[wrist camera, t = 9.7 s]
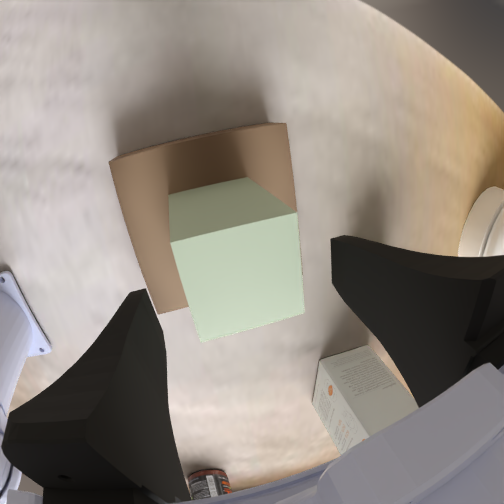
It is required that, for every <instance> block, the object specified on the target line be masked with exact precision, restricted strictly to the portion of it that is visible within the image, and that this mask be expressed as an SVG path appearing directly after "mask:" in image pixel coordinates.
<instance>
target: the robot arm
mask: <svg viewBox="0 0 504 504" xmlns="http://www.w3.org/2000/svg"><path fill="white" fill-rule="evenodd" d="M331 264H332V284H333V285H334V287H335V288H336V290H337V292H338V293H339V295H340V296H341V297H342V299H343V300H344V302H345V303H346V304H347V305H348V306H349V307H350V308H351V310H352V311H353V312H354V313H355V314H356V315H357V316H358V317H359V318H360V320H361V321H362V322H363V323H364V324H365V325H366V326H367V327H368V328H369V329H370V331H371V332H372V333H373V334H374V335H375V336H376V337H377V339H378V340H379V341H380V342H381V344H382V345H383V347H384V348H385V350H386V351H387V352H388V354H389V355H390V357H391V358H392V360H393V361H394V363H395V365H396V366H397V368H398V370H399V371H400V373H401V375H402V376H403V378H404V380H405V382H406V383H407V385H408V387H409V389H410V391H411V393H412V395H413V396H414V399H415V401H416V403H417V405H418V407H419V409H417V410H415V411H414V412H412V413H411V414H409V415H407V416H405V417H404V418H402V419H400V420H399V421H397V422H395V423H393V424H391V425H390V426H388V427H386V428H384V429H382V430H380V431H378V432H377V433H375V434H373V435H372V436H370V437H369V438H367V439H365V440H364V441H362V442H360V443H358V444H357V445H355V446H353V447H351V448H350V449H349V450H347V451H346V452H345V453H344V454H342V455H341V456H340V457H338V458H336V459H334V460H331V461H329V462H327V463H324V464H322V465H319V466H317V467H314V468H312V469H309V470H306V471H304V472H301V473H298V474H295V475H292V476H289V477H286V478H283V479H280V480H277V481H274V482H271V483H267V484H264V485H260V486H257V487H253V488H249V489H245V490H241V491H237V492H233V493H229V494H224V495H220V496H215V497H210V498H204V499H198V500H192V499H191V497H190V494H189V491H188V488H187V485H186V481H185V478H184V475H183V471H182V468H181V464H180V460H179V457H178V453H177V448H176V444H175V440H174V435H173V430H172V425H171V420H170V414H169V406H168V389H167V358H166V348H165V341H164V335H163V330H162V328H161V326H160V323H159V321H158V318H157V316H156V313H155V311H154V308H153V306H152V303H151V301H150V298H149V296H148V293H147V290H146V288H145V289H141V290H137V291H133V292H130V293H129V294H128V296H127V297H126V298H125V300H124V301H123V303H122V304H121V306H120V307H119V309H118V310H117V312H116V313H115V314H114V316H113V317H112V319H111V320H110V322H109V323H108V324H107V326H106V327H105V328H104V330H103V331H102V332H101V334H100V335H99V336H98V338H97V339H96V340H95V342H94V343H93V344H92V345H91V346H90V348H89V349H88V350H87V351H86V352H85V353H84V354H83V355H82V357H81V358H80V359H79V360H78V361H77V362H76V363H75V364H74V365H73V366H72V367H71V368H69V369H68V370H67V371H66V372H65V373H64V374H63V375H62V376H61V377H60V378H59V379H58V380H56V381H55V382H54V383H53V384H51V385H50V386H49V387H48V388H46V389H45V390H44V391H42V392H41V393H40V394H38V395H37V396H35V397H34V398H33V399H31V400H29V401H28V402H26V403H25V404H23V405H21V406H20V407H18V408H17V409H15V410H13V411H11V412H10V413H9V417H8V419H7V418H6V416H7V412H8V409H9V406H10V402H11V399H12V396H13V393H14V390H15V387H16V384H17V382H18V379H19V376H20V373H21V371H22V368H23V365H24V363H25V360H26V358H27V357H31V356H36V355H42V354H47V353H50V352H51V350H52V347H51V345H50V343H49V342H48V340H47V338H46V337H45V335H44V333H43V332H42V330H41V328H40V327H39V325H38V323H37V321H36V320H35V318H34V316H33V314H32V313H31V311H30V309H29V307H28V305H27V303H26V301H25V299H24V297H23V296H22V294H21V292H20V290H19V287H18V285H17V283H16V281H15V279H14V277H13V275H12V273H11V272H9V271H4V272H1V273H0V504H504V255H497V256H488V257H455V256H442V255H434V254H427V253H420V252H415V251H410V250H406V249H401V248H397V247H393V246H389V245H385V244H381V243H377V242H374V241H370V240H366V239H362V238H358V237H353V236H346V235H343V236H339V237H336V238H332V239H331ZM2 277H3V278H4V279H5V281H4V280H3V279H2ZM41 348H43V349H41ZM21 473H23V474H25V475H26V476H28V477H29V478H30V479H32V480H33V481H34V482H36V483H37V484H39V485H40V486H42V487H43V488H44V490H43V496H41V495H38V494H36V493H31V492H25V491H19V490H17V489H18V486H19V483H20V479H21Z"/></svg>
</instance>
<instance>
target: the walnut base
mask: <svg viewBox="0 0 504 504" xmlns="http://www.w3.org/2000/svg"><path fill="white" fill-rule="evenodd" d="M109 165H110V169H111V173H112V177H113V181H114V185H115V188H116V192H117V196H118V199H119V203H120V206H121V210H122V213H123V216H124V220H125V223H126V226H127V229H128V233H129V236H130V239H131V242H132V245H133V248H134V251H135V254H136V257H137V260H138V263H139V266H140V268H141V271H142V274H143V277H144V279H145V282H146V285H147V288H148V290H149V293H150V296H151V298H152V301H153V303H154V306H155V308H156V311H157V313H158V314H162V313H166V312H170V311H174V310H178V309H182V308H185V307H189V305H188V302H187V299H186V295H185V292H184V289H183V285H182V282H181V279H180V275H179V272H178V269H177V265H176V262H175V258H174V255H173V251H172V247H171V244H170V227H169V196H168V195H170V194H174V193H178V192H182V191H186V190H190V189H195V188H199V187H203V186H208V185H212V184H217V183H221V182H226V181H231V180H236V179H240V178H245V177H248V178H250V179H251V180H252V181H254V182H255V183H257V184H258V185H260V186H261V187H262V188H264V189H265V190H267V191H268V192H269V193H271V194H272V195H274V196H275V197H276V198H278V199H279V200H281V201H282V202H283V203H285V204H286V205H288V206H289V207H290V208H292V209H293V210H294V211H296V212H297V207H296V197H295V188H294V180H293V171H292V163H291V155H290V147H289V140H288V132H287V125H286V123H263V124H256V125H250V126H244V127H238V128H233V129H227V130H222V131H217V132H212V133H207V134H202V135H197V136H193V137H188V138H184V139H180V140H175V141H171V142H167V143H163V144H159V145H155V146H152V147H148V148H144V149H141V150H137V151H134V152H130V153H127V154H123V155H120V156H117V157H116V158H114V159H113V160H111V161H110V162H109ZM297 217H298V216H297ZM298 228H299V226H298ZM299 240H300V237H299ZM300 252H301V248H300ZM301 266H302V259H301ZM302 275H303V271H302Z"/></svg>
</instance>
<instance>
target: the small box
mask: <svg viewBox="0 0 504 504" xmlns="http://www.w3.org/2000/svg"><path fill="white" fill-rule="evenodd" d="M312 405H313V406H314V408H315V410H316V412H317V413H318V415H319V417H320V419H321V420H322V422H323V424H324V426H325V427H326V429H327V431H328V433H329V434H330V436H331V438H332V440H333V442H334V443H335V445H336V447H337V449H338V451H339V453H340V454H341V455H342V454H344V453H345V452H346V451H347V450H349V449H350V448H351V447H353V446H355V445H357V444H358V443H360V442H362V441H364V440H365V439H367V438H369V437H370V436H372V435H373V434H375V433H377V432H378V431H380V430H382V429H384V428H386V427H388V426H390V425H391V424H393V423H395V422H397V421H399V420H400V419H402V418H404V417H405V416H407V415H409V414H411V413H412V412H414V411H415V410H417V409H419V407H418V405H417V403H416V401H415V399H414V398H413V397H412V396H411V394H410V393H409V392H408V391H407V390H406V388H405V387H404V386H403V385H402V384H401V382H400V381H399V380H398V379H397V378H396V377H395V375H394V374H393V373H392V372H391V371H390V369H389V368H388V367H387V366H386V365H385V364H384V362H383V361H382V360H381V359H380V358H379V357H378V355H377V354H376V353H375V352H374V351H373V350H372V349H371V347H370V346H369V345H365V346H362V347H359V348H356V349H353V350H350V351H347V352H343V353H340V354H337V355H333V356H330V357H327V358H324V359H321V360H320V361H319V367H318V373H317V379H316V385H315V391H314V397H313V402H312Z"/></svg>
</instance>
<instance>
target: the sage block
mask: <svg viewBox="0 0 504 504" xmlns="http://www.w3.org/2000/svg"><path fill="white" fill-rule="evenodd" d="M168 196H169V227H170V244H171V247H172V251H173V255H174V258H175V262H176V265H177V269H178V272H179V275H180V279H181V282H182V285H183V289H184V292H185V295H186V299H187V302H188V305H189V308H190V311H191V314H192V317H193V320H194V324H195V327H196V330H197V333H198V336H199V338H200V341H201V343H202V342H206V341H209V340H213V339H217V338H221V337H225V336H228V335H232V334H236V333H239V332H243V331H246V330H250V329H253V328H257V327H260V326H264V325H267V324H270V323H274V322H277V321H280V320H284V319H287V318H290V317H293V316H296V315H300V314H303V313H304V296H303V280H302V266H301V252H300V240H299V228H298V217H297V212H296V211H294V210H293V209H292V208H290V207H289V206H288V205H286V204H285V203H283V202H282V201H281V200H279V199H278V198H276V197H275V196H274V195H272V194H271V193H269V192H268V191H267V190H265V189H264V188H262V187H261V186H260V185H258V184H257V183H255V182H254V181H252V180H251V179H250V178H248V177H245V178H240V179H236V180H231V181H226V182H221V183H217V184H212V185H208V186H203V187H199V188H195V189H190V190H186V191H182V192H178V193H174V194H170V195H168Z"/></svg>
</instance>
